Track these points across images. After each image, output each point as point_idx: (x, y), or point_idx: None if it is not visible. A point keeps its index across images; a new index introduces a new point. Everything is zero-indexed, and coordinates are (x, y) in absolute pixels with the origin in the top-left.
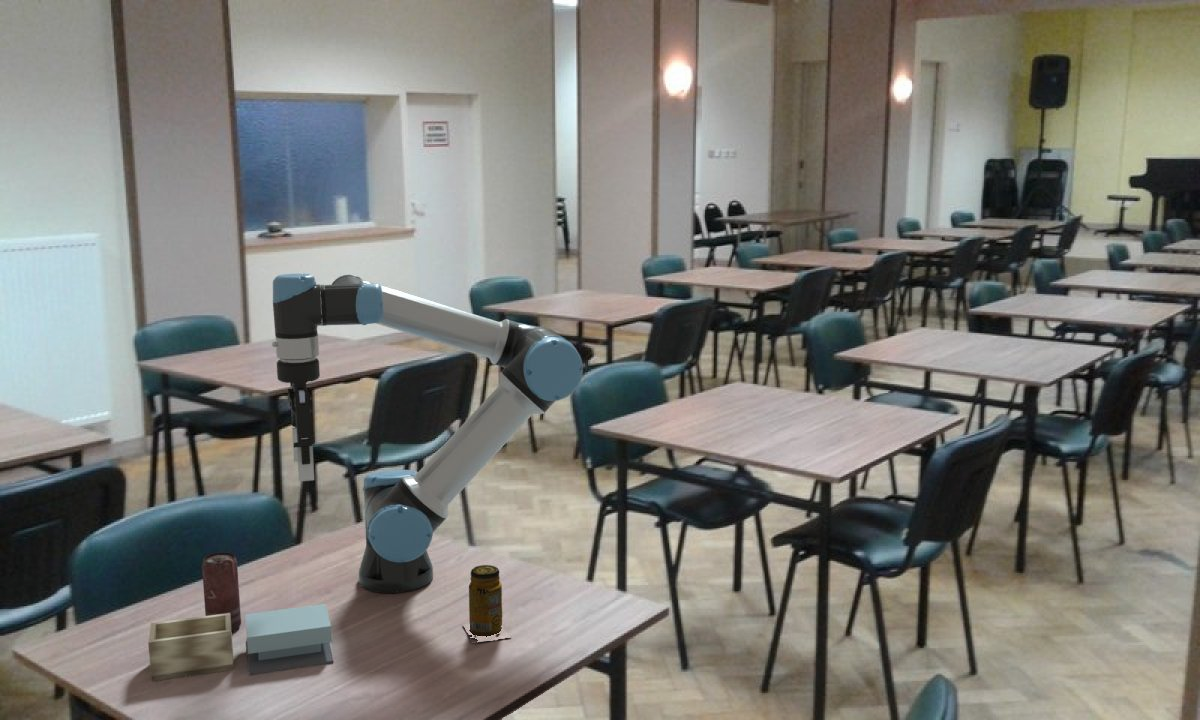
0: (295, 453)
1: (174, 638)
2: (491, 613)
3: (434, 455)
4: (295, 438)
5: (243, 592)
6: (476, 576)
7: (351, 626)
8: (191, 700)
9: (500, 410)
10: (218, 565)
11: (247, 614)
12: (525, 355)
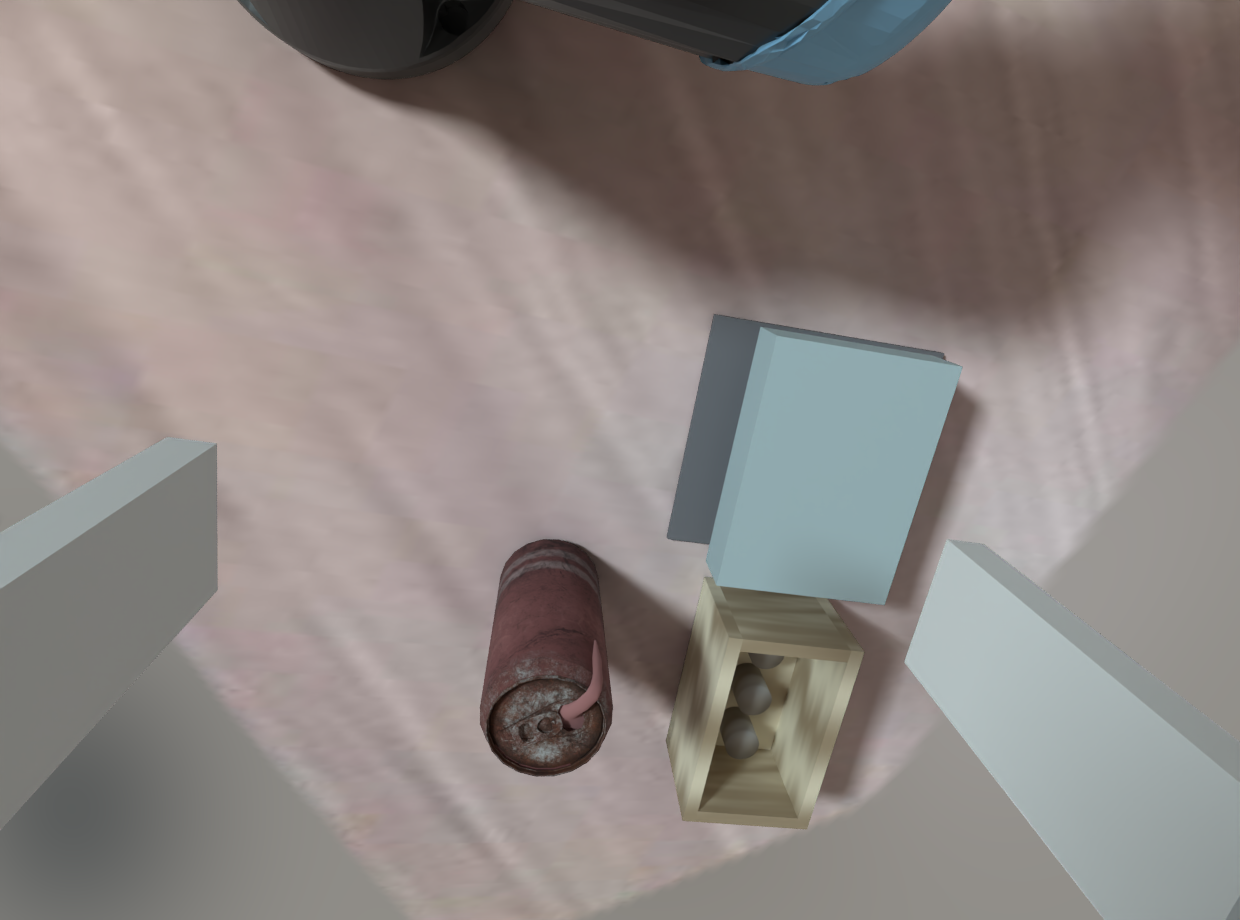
0: (167, 622)
1: (819, 777)
2: None
3: None
4: (28, 754)
5: (278, 490)
6: None
7: (732, 229)
8: (916, 685)
9: None
10: (606, 729)
11: (721, 580)
12: None
